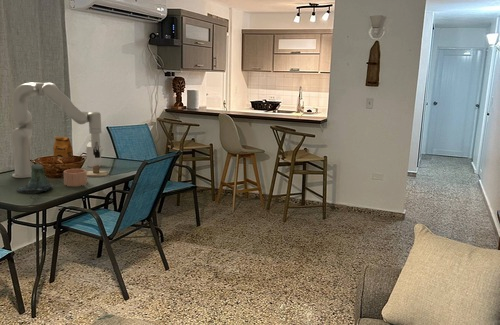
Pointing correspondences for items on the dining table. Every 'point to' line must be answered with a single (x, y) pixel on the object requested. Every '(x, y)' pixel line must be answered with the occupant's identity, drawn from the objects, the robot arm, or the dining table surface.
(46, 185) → the tree stump
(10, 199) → the dining table surface
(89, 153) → the milk carton
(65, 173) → the bowl
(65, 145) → the coffee package
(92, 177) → the mat
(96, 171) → the lid
